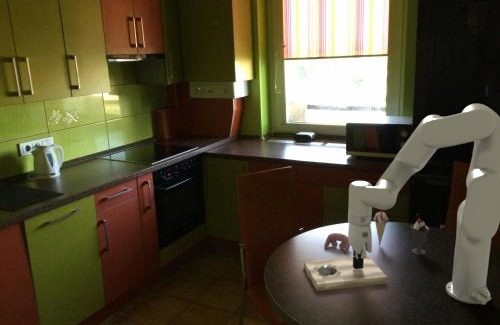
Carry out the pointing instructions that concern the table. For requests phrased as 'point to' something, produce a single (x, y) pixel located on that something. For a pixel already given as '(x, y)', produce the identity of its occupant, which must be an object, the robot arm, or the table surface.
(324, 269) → the steel ball
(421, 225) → the sundae
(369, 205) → the robot arm
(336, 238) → the video game controller
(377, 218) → the ice cream cone
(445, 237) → the table surface
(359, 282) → the hole board
